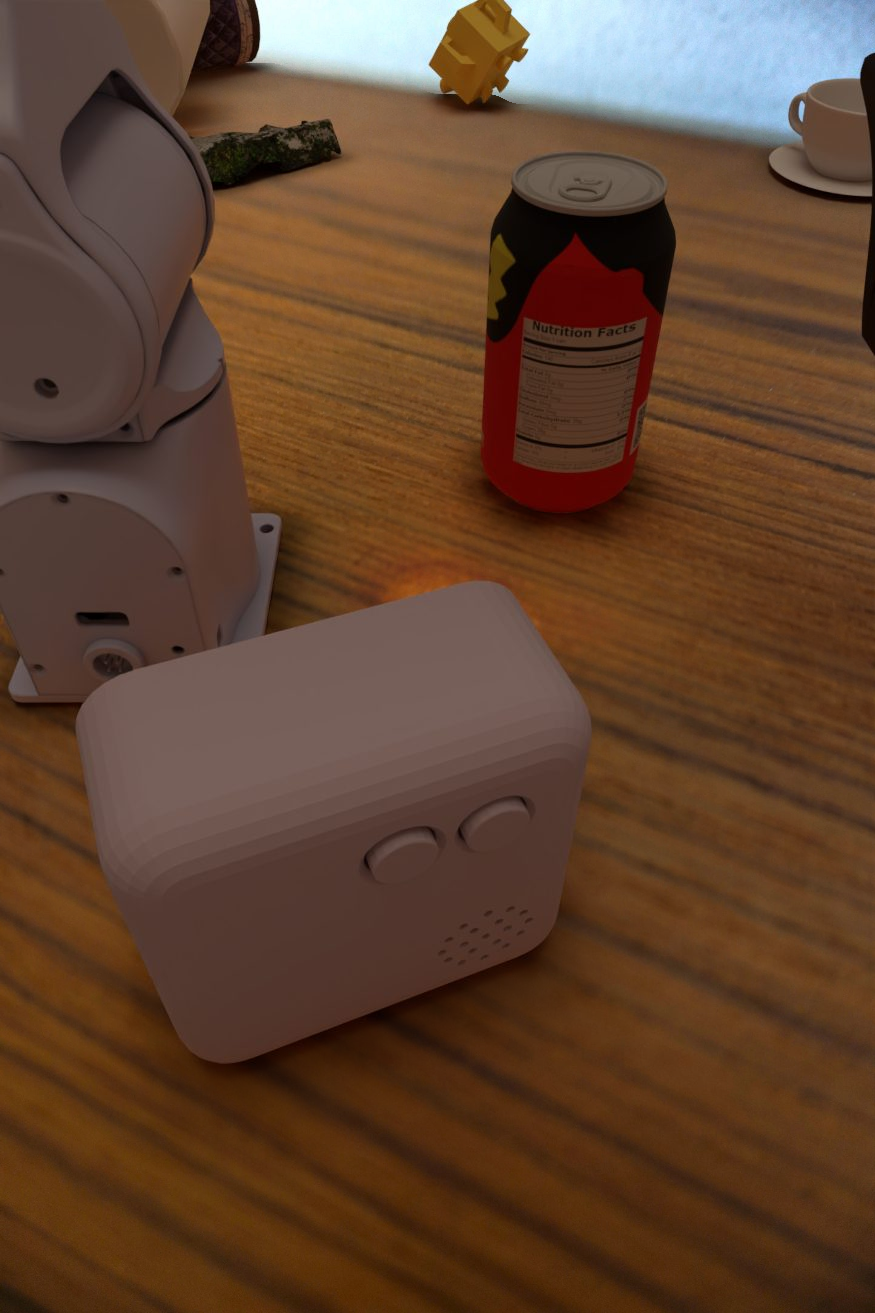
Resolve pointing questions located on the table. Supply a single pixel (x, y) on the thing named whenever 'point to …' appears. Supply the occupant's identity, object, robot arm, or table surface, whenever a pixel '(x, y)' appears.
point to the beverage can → (573, 326)
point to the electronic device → (336, 812)
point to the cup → (163, 42)
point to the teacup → (829, 140)
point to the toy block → (479, 50)
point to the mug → (229, 35)
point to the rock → (265, 149)
